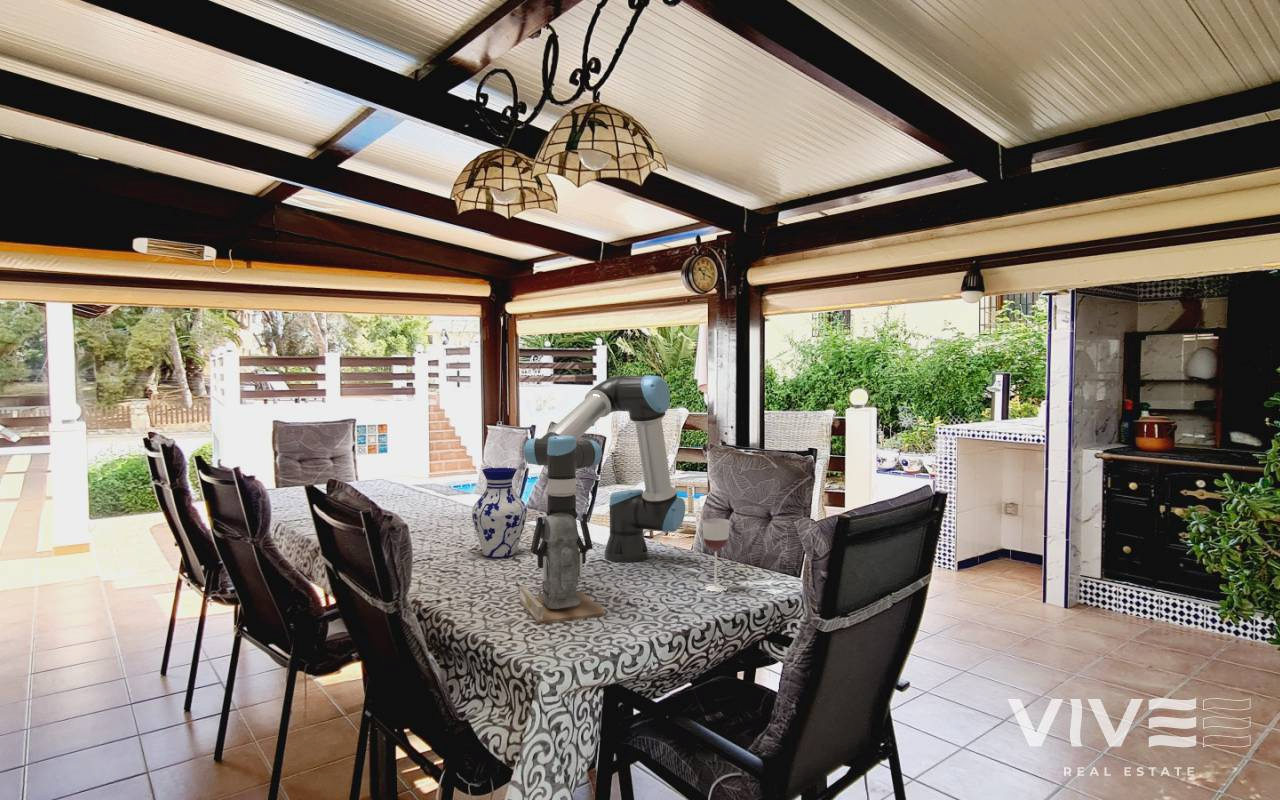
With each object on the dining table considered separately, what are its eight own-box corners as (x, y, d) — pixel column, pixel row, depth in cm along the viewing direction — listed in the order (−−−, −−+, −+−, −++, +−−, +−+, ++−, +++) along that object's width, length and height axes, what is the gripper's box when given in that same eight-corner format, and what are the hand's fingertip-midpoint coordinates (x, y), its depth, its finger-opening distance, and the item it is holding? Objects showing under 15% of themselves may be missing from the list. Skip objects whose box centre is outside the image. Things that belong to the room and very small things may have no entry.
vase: (479, 563, 240) (479, 474, 240) (465, 552, 257) (465, 468, 257) (534, 557, 249) (534, 471, 249) (517, 546, 266) (517, 465, 265)
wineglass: (732, 586, 214) (732, 519, 214) (725, 594, 206) (726, 524, 206) (705, 583, 217) (706, 517, 216) (698, 591, 209) (698, 522, 208)
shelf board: (582, 594, 205) (582, 579, 205) (606, 615, 187) (606, 599, 187) (519, 602, 198) (519, 586, 198) (537, 624, 180) (537, 607, 180)
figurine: (551, 612, 184) (550, 514, 183) (536, 597, 197) (535, 506, 196) (587, 607, 188) (586, 511, 187) (570, 592, 201) (569, 503, 200)
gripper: (596, 489, 200) (596, 570, 200) (517, 494, 191) (518, 578, 192) (605, 493, 193) (605, 577, 193) (524, 498, 184) (524, 585, 185)
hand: (561, 577), depth 192 cm, fingers closed on figurine, 9 cm apart
